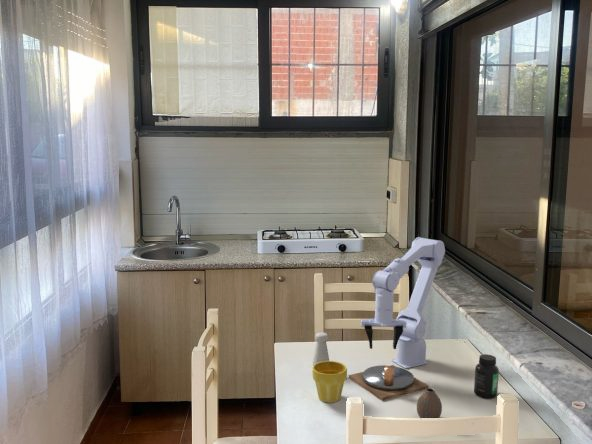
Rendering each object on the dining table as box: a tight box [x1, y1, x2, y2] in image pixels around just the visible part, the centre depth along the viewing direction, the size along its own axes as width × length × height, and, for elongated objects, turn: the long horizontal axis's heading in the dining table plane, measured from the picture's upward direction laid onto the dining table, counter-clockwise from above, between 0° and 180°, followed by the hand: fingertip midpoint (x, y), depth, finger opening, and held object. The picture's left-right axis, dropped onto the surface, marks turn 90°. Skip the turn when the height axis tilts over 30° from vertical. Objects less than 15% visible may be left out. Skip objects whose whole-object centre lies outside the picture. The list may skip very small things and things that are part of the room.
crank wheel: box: [362, 364, 414, 390], centre depth 190 cm, size 16×16×7 cm
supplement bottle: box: [473, 354, 500, 400], centre depth 183 cm, size 7×7×12 cm
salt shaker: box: [312, 331, 330, 367], centre depth 198 cm, size 6×6×13 cm
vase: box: [416, 387, 443, 419], centre depth 167 cm, size 7×7×9 cm
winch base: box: [348, 364, 430, 402], centre depth 191 cm, size 18×18×1 cm
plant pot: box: [312, 360, 348, 404], centre depth 179 cm, size 10×10×10 cm
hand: (382, 347), depth 195 cm, fingers open, 7 cm apart
